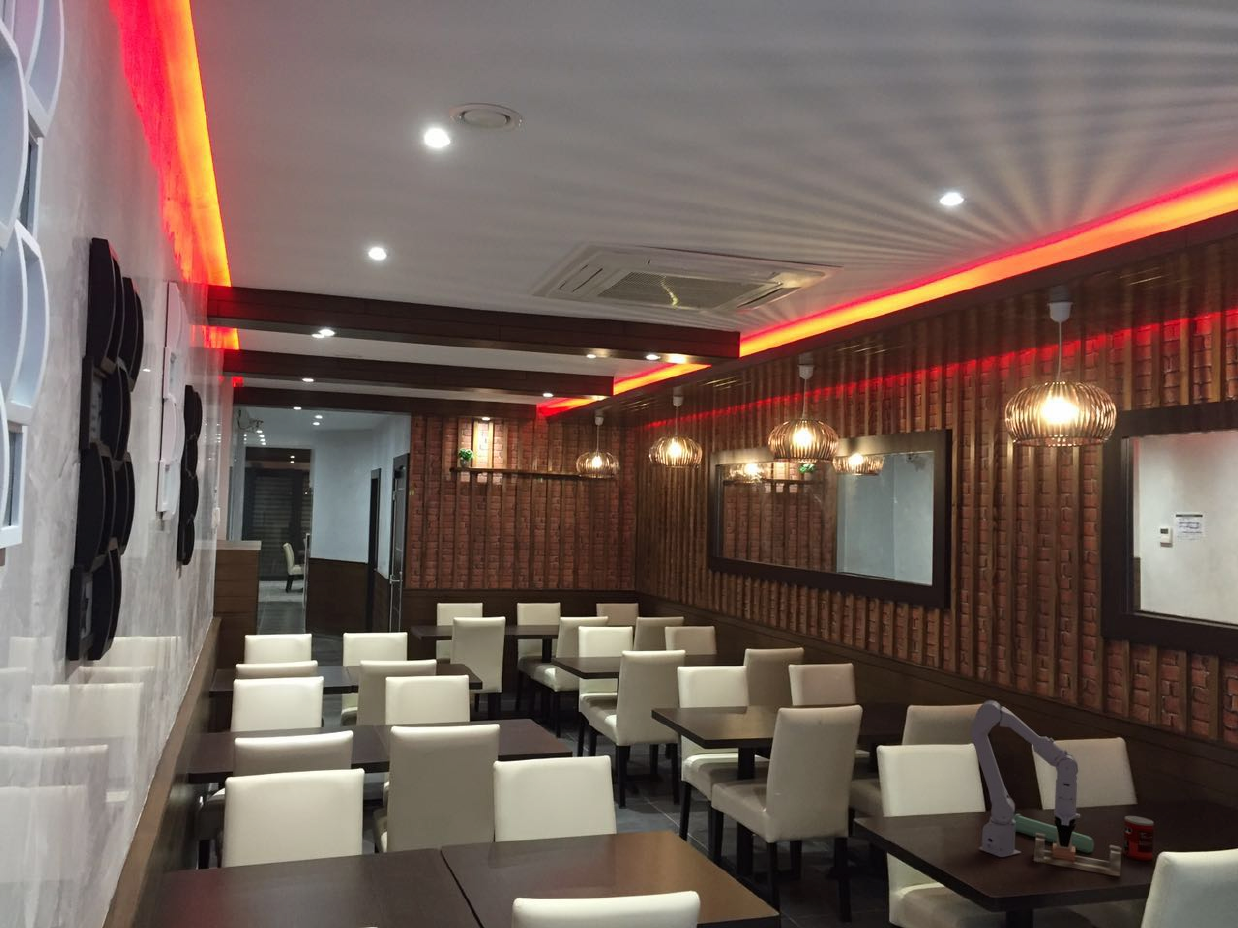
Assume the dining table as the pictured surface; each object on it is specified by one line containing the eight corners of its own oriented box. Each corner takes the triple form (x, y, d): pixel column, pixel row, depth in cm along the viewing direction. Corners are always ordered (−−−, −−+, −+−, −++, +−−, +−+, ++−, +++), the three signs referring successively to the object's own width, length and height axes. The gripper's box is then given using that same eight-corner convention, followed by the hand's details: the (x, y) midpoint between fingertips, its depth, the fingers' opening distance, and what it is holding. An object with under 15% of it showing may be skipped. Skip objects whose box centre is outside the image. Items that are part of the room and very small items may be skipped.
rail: (1033, 860, 297) (1034, 837, 298) (1034, 853, 305) (1034, 830, 305) (1121, 876, 288) (1122, 852, 288) (1120, 868, 295) (1120, 844, 296)
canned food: (1126, 850, 314) (1127, 813, 314) (1155, 856, 309) (1156, 820, 309) (1120, 855, 308) (1121, 818, 308) (1149, 862, 303) (1150, 824, 303)
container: (1095, 832, 310) (1019, 809, 329) (1086, 842, 306) (1009, 819, 326) (1098, 849, 311) (1021, 825, 330) (1089, 860, 307) (1012, 835, 327)
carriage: (1052, 857, 296) (1053, 830, 297) (1052, 852, 302) (1053, 825, 302) (1075, 861, 294) (1075, 834, 294) (1074, 856, 299) (1075, 829, 300)
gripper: (1081, 805, 291) (1079, 853, 290) (1080, 793, 304) (1078, 840, 303) (1054, 801, 293) (1052, 848, 293) (1054, 790, 307) (1053, 835, 306)
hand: (1064, 844), depth 298 cm, fingers open, 4 cm apart
